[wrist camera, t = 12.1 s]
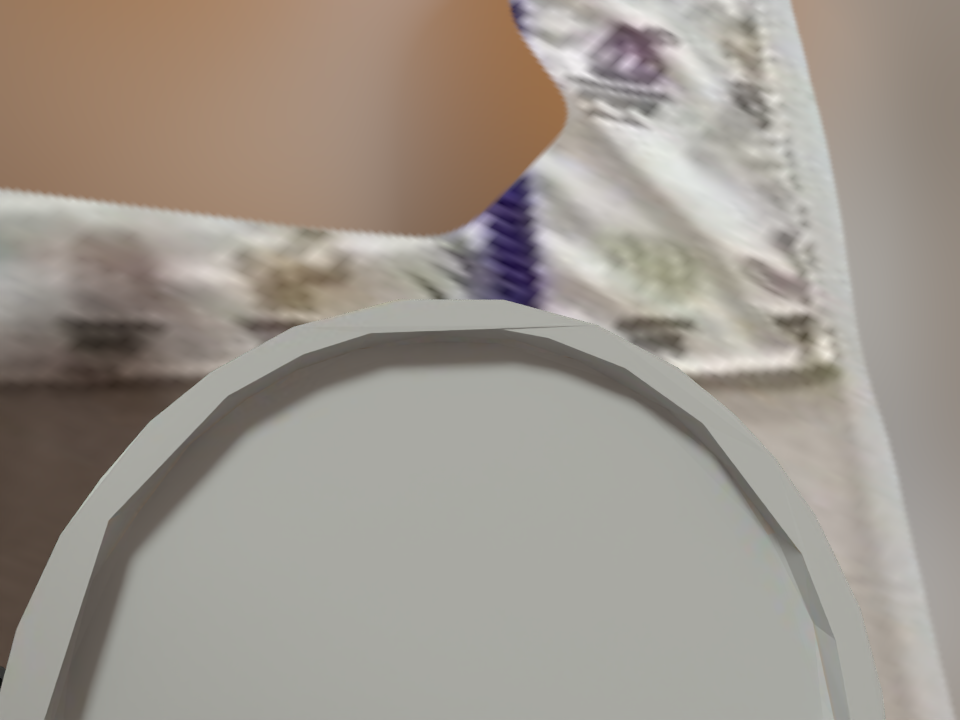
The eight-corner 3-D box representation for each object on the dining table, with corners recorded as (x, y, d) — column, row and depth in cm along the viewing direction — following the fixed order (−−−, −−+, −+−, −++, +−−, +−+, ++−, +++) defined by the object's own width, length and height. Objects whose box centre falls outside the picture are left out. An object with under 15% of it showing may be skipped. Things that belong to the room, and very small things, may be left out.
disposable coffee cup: (414, 413, 20) (388, 134, 9) (694, 623, 19) (1077, 590, 7) (170, 705, 17) (-320, 815, 6) (480, 992, 15) (596, 1894, 4)
